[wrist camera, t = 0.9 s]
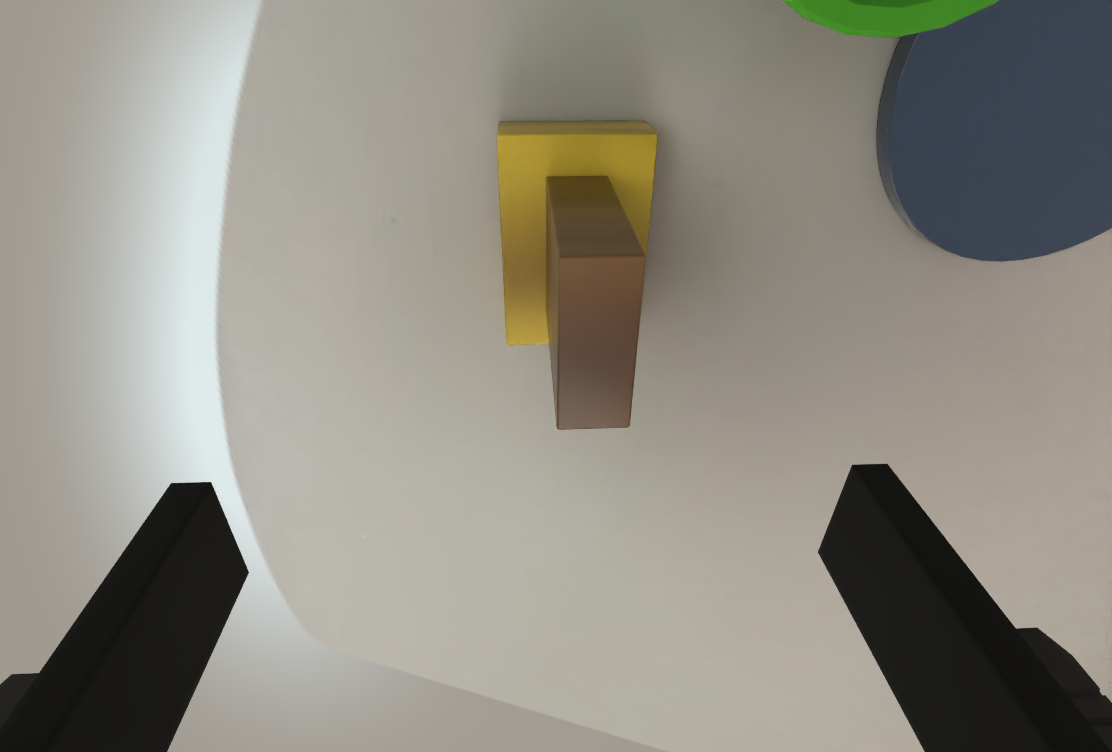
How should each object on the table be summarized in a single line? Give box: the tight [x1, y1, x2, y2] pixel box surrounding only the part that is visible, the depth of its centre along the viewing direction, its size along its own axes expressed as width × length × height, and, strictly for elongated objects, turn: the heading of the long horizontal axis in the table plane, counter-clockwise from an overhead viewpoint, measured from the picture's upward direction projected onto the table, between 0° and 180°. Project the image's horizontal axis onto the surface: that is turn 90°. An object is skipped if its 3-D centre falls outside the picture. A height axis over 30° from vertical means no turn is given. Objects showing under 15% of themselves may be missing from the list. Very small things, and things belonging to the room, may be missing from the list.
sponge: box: [497, 121, 658, 430], centre depth 22 cm, size 9×6×10 cm, turn 0°
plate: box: [877, 0, 1112, 261], centre depth 23 cm, size 15×15×1 cm
